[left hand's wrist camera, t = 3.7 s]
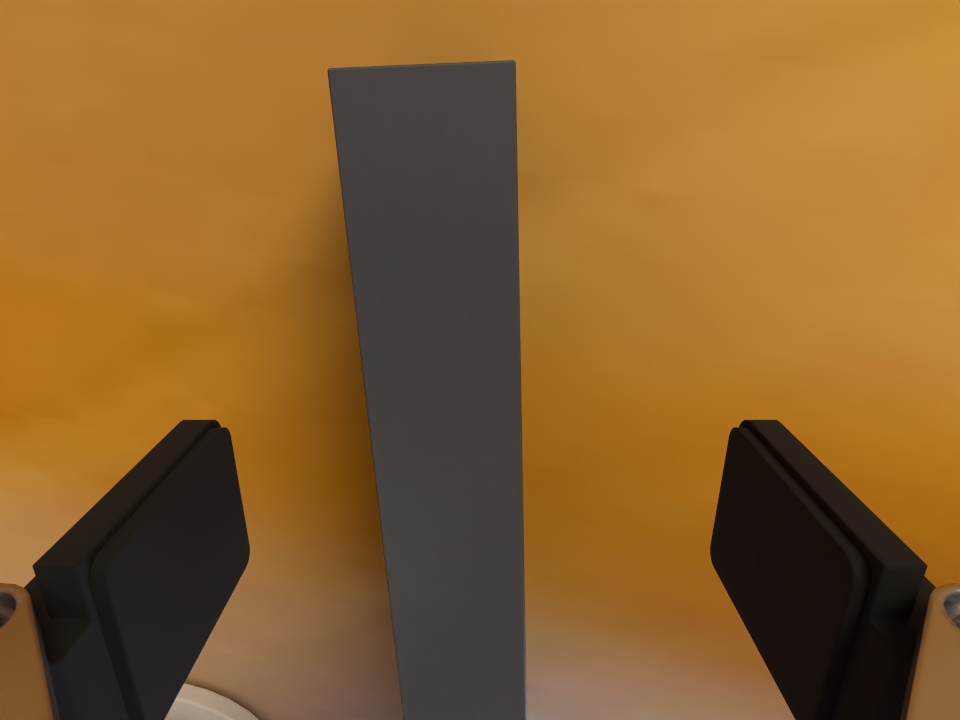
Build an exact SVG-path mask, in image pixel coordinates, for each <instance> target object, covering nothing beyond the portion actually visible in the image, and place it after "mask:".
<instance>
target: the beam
mask: <svg viewBox="0 0 960 720" xmlns="http://www.w3.org/2000/svg"><path fill="white" fill-rule="evenodd" d="M328 79H329V87H330V96H331V104H332V113H333V121H334V130H335V138H336V147H337V155H338V164H339V172H340V181H341V189H342V198H343V207H344V215H345V224H346V232H347V241H348V249H349V258H350V266H351V275H352V283H353V292H354V300H355V309H356V317H357V326H358V334H359V343H360V351H361V360H362V369H363V377H364V386H365V394H366V403H367V411H368V420H369V428H370V437H371V445H372V454H373V462H374V471H375V479H376V488H377V496H378V505H379V513H380V522H381V531H382V539H383V548H384V556H385V565H386V573H387V582H388V590H389V599H390V607H391V616H392V624H393V633H394V641H395V650H396V658H397V667H398V675H399V684H400V693H401V701H402V710H403V718H404V720H527V710H526V651H525V592H524V533H523V474H522V415H521V355H520V296H519V237H518V178H517V119H516V63H515V61H514V60H509V61H486V62H463V63H440V64H417V65H394V66H371V67H348V68H329V69H328Z"/></svg>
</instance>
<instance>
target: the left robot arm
mask: <svg viewBox="0 0 960 720" xmlns="http://www.w3.org/2000/svg"><path fill="white" fill-rule="evenodd" d="M249 553H250V547H249V540H248V534H247V528H246V523H245V517H244V511H243V505H242V499H241V493H240V487H239V482H238V476H237V470H236V464H235V458H234V452H233V446H232V441H231V435H230V432H229V430H228V429H227V428H221V426H220V424H219V422H217V421H216V420H183V421H181V422H180V423H179V424H178V425H177V426H176V427H175V428H174V429H173V430H171V431H170V432H169V433H168V434H167V435H166V436H165V437H164V438H163V439H162V440H161V441H160V442H159V443H158V444H157V445H156V446H155V447H154V448H153V449H152V450H151V451H150V452H149V453H148V454H147V455H146V456H145V457H144V458H143V459H142V460H141V461H140V462H139V463H138V464H137V465H136V466H134V467H133V468H132V469H131V470H130V471H129V472H128V473H127V474H126V475H125V476H124V477H123V478H122V479H121V480H120V481H119V482H118V483H117V484H116V485H115V486H114V487H113V488H112V489H111V490H110V491H109V492H108V493H107V494H106V495H105V496H104V497H103V498H102V499H101V500H100V501H99V502H97V503H96V504H95V505H94V506H93V507H92V508H91V509H90V510H89V511H88V512H87V513H86V514H85V515H84V516H83V517H82V518H81V519H80V520H79V521H78V522H77V523H76V524H75V525H74V526H73V527H72V528H71V529H70V530H69V531H68V532H67V533H66V534H65V535H64V536H63V537H62V538H60V539H59V540H58V541H57V542H56V543H55V544H54V545H53V546H52V547H51V548H50V549H49V550H48V551H47V552H46V553H45V554H44V555H43V556H42V557H41V558H40V559H39V560H38V561H37V562H36V563H35V564H34V565H33V569H34V572H35V575H36V576H35V577H34V578H33V579H32V580H31V581H30V582H29V583H28V584H27V585H26V586H25V587H24V588H23V587H20V586H18V585H16V584H4V583H0V720H259V719H258V718H257V717H255V716H254V715H253V714H252V713H251V712H250V711H248V710H247V709H245V708H244V707H242V706H240V705H239V704H237V703H236V702H234V701H232V700H231V699H229V698H227V697H224V696H222V695H220V694H217V693H215V692H213V691H210V690H208V689H204V688H201V687H197V686H194V685H190V684H186V683H184V682H185V680H186V678H187V677H188V675H189V673H190V671H191V669H192V667H193V665H194V664H195V662H196V660H197V658H198V656H199V654H200V652H201V650H202V649H203V647H204V645H205V643H206V641H207V639H208V637H209V636H210V634H211V632H212V630H213V628H214V626H215V624H216V622H217V621H218V619H219V617H220V615H221V613H222V611H223V609H224V608H225V606H226V604H227V602H228V600H229V598H230V596H231V594H232V593H233V591H234V589H235V587H236V585H237V583H238V581H239V580H240V578H241V576H242V574H243V572H244V570H245V568H246V566H247V564H248V560H249ZM710 553H711V560H712V564H713V566H714V568H715V570H716V572H717V574H718V576H719V578H720V580H721V581H722V583H723V585H724V587H725V589H726V591H727V593H728V594H729V596H730V598H731V600H732V602H733V604H734V606H735V608H736V609H737V611H738V613H739V615H740V617H741V619H742V621H743V622H744V624H745V626H746V628H747V630H748V632H749V634H750V636H751V637H752V639H753V641H754V643H755V645H756V647H757V649H758V650H759V652H760V654H761V656H762V658H763V660H764V662H765V664H766V665H767V667H768V669H769V671H770V673H771V675H772V677H773V678H774V680H775V682H776V684H777V686H778V688H779V690H780V692H781V693H782V695H783V697H784V699H785V701H786V703H787V705H788V707H789V708H790V710H791V712H792V714H793V716H794V718H795V720H960V583H956V584H944V585H942V586H940V587H937V588H936V587H935V586H934V585H933V584H932V583H931V582H930V581H929V580H928V579H927V578H926V577H925V576H924V575H925V572H926V569H927V565H926V564H925V563H924V562H923V561H922V560H921V559H920V558H919V557H918V556H917V555H916V554H915V553H914V552H913V551H912V550H911V549H910V548H909V547H908V546H907V545H906V544H905V543H904V542H903V541H902V540H901V539H900V538H898V537H897V536H896V535H895V534H894V533H893V532H892V531H891V530H890V529H889V528H888V527H887V526H886V525H885V524H884V523H883V522H882V521H881V520H880V519H879V518H878V517H877V516H876V515H875V514H874V513H873V512H872V511H871V510H870V509H869V508H868V507H867V506H866V505H865V504H864V503H863V502H861V501H860V500H859V499H858V498H857V497H856V496H855V495H854V494H853V493H852V492H851V491H850V490H849V489H848V488H847V487H846V486H845V485H844V484H843V483H842V482H841V481H840V480H839V479H838V478H837V477H836V476H835V475H834V474H833V473H832V472H831V471H830V470H829V469H828V468H827V467H826V466H824V465H823V464H822V463H821V462H820V461H819V460H818V459H817V458H816V457H815V456H814V455H813V454H812V453H811V452H810V451H809V450H808V449H807V448H806V447H805V446H804V445H803V444H802V443H801V442H800V441H799V440H798V439H797V438H796V437H795V436H794V435H793V434H792V433H791V432H790V431H789V430H787V429H786V428H785V427H784V426H783V425H782V424H781V423H780V422H779V421H777V420H744V421H743V422H741V424H740V426H739V428H733V429H732V430H731V432H730V435H729V441H728V446H727V452H726V458H725V464H724V470H723V476H722V482H721V487H720V493H719V499H718V505H717V511H716V517H715V523H714V528H713V534H712V540H711V547H710Z"/></svg>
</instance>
